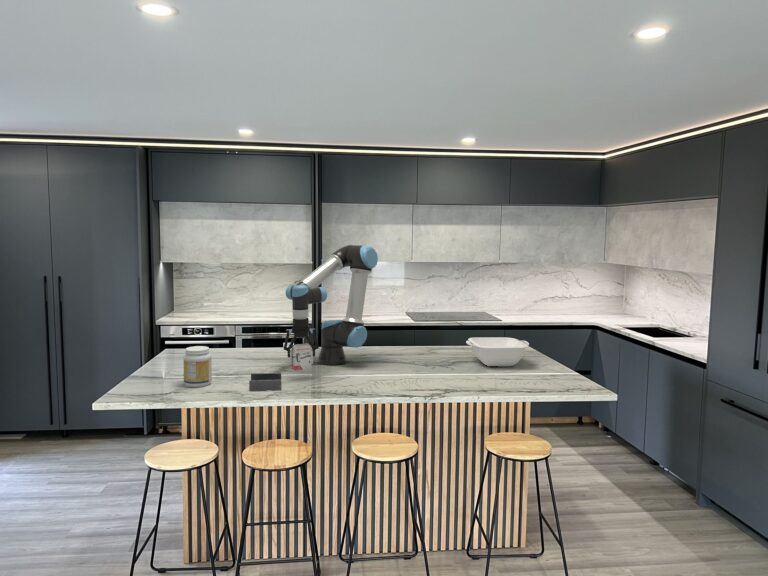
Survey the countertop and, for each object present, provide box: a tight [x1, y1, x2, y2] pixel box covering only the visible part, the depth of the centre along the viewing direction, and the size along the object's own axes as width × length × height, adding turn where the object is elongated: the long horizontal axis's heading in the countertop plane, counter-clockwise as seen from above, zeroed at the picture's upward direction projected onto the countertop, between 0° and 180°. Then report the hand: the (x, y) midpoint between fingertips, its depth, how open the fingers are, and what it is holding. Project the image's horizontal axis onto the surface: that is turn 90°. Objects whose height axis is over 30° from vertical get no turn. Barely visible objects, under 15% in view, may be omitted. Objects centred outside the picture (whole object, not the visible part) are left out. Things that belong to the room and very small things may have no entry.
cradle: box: [248, 372, 282, 392], centre depth 263 cm, size 14×14×4 cm
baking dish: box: [465, 336, 530, 367], centre depth 315 cm, size 34×28×13 cm
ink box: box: [291, 342, 312, 372], centre depth 276 cm, size 9×5×12 cm, turn 117°
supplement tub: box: [183, 345, 213, 388], centre depth 264 cm, size 12×12×17 cm
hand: (301, 363), depth 276 cm, fingers closed on ink box, 9 cm apart
